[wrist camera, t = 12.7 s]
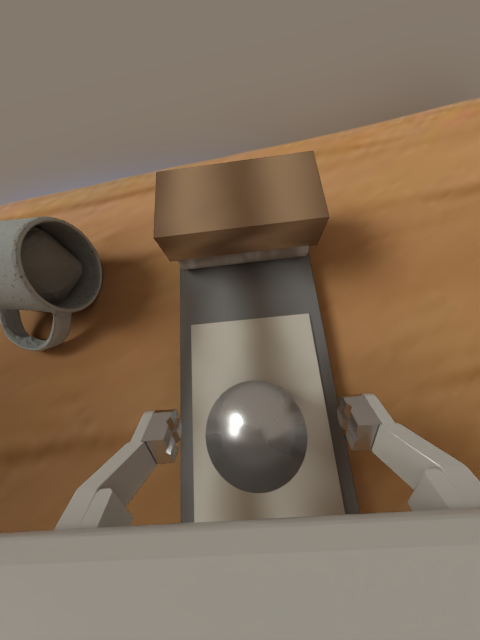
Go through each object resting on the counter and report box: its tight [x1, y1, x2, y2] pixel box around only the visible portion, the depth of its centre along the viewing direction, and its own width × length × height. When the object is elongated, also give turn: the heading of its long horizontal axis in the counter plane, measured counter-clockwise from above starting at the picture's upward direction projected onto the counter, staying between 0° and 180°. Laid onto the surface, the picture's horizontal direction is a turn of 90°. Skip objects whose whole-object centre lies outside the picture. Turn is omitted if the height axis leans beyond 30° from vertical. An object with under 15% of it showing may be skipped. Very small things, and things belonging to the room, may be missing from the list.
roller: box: [205, 380, 307, 493], centre depth 12 cm, size 4×4×8 cm
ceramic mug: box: [0, 217, 102, 351], centre depth 18 cm, size 11×8×8 cm
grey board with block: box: [154, 151, 360, 523], centre depth 16 cm, size 12×26×7 cm, turn 5°
